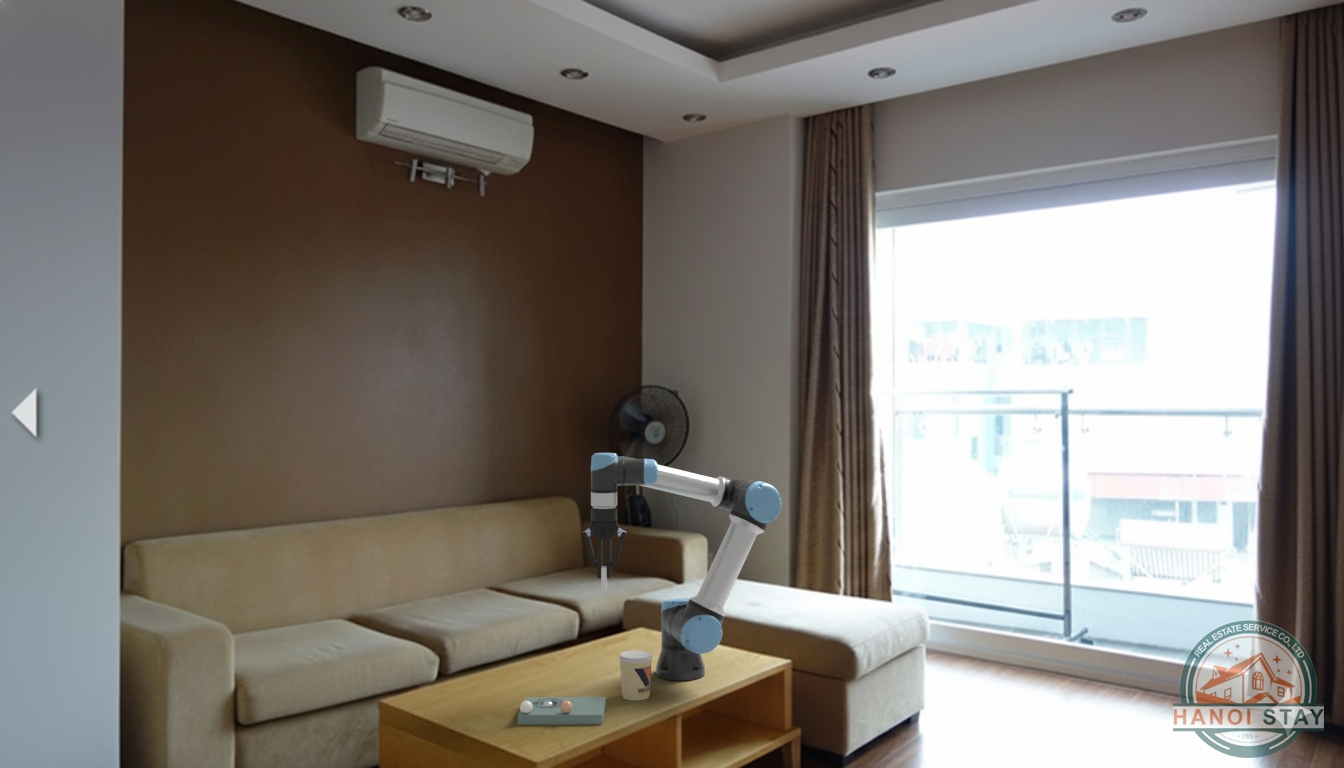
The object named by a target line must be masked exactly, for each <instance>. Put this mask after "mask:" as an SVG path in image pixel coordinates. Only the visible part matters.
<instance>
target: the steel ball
mask: <svg viewBox="0 0 1344 768" xmlns="http://www.w3.org/2000/svg"><path fill="white" fill-rule="evenodd" d="M542 705H543V706H553V703H552V702H551V701H545V702H544V703H543V704H542Z"/></svg>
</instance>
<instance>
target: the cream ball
mask: <svg viewBox="0 0 1344 768" xmlns="http://www.w3.org/2000/svg"><path fill="white" fill-rule="evenodd" d="M519 709H521V711H522V712H523V713H529V712H531V710H532V703H531V702H530V701H525V700H523V701H522V702H521V704H520V705H519Z"/></svg>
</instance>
